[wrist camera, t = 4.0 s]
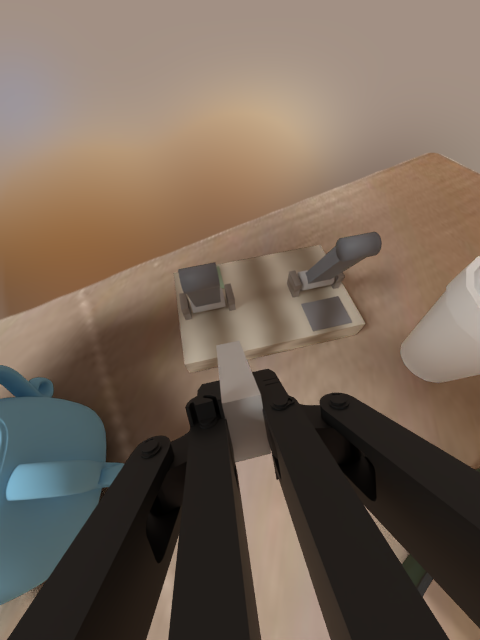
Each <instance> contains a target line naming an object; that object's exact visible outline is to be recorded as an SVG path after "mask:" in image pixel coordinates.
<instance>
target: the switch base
mask: <svg viewBox="0 0 480 640" xmlns="http://www.w3.org/2000/svg"><path fill="white" fill-rule="evenodd" d="M325 255H326V254H325V252H324V250H323V249H322V247H321V245H316V246H311V247H305V248H300V249H295V250H290V251H285V252H279V253H274V254H269V255H264V256H259V257H254V258H248V259H243V260H238V261H233V262H228V263H223V264H217V265H216V267H217V272H218V277H219V282H220V288H222V291H223V295H224V300H225V305H226V307H222V308H217V309H212V310H207V311H203V312H198V313H193V311H192V307H191V303H190V298H189V297H188V296H187V294H186V293H185V294H184V292H183V290H182V286H181V283H180V278H179V272H176V273H174V281H175V289H176V297H177V306H178V314H179V323H180V331H181V339H182V348H183V356H184V364H185V366H186V368H187V369H188V371H189V372H190V373H193V372H197V371H201V370H206V369H210V368H214V367H218V359H217V349H216V345H221V344H225V343H230V342H235V341H240V344H241V346H242V349H243V351H244V354H245V356H246V359H247V360H249V359H253V358H258V357H262V356H266V355H271V354H275V353H279V352H284V351H288V350H292V349H297V348H301V347H305V346H310V345H314V344H318V343H323V342H327V341H331V340H336V339H340V338H344V337H349V336H353V335H356V334H357V333H358V332H359V331H360V329H361V328H362V327H363V326H364V325H365V322H364V320H363V318H362V317H361V315H360V313H359V311H358V310H357V308H356V306H355V304H354V303H353V301H352V299H351V297H350V296H349V294H348V292H347V290H346V289H345V287H344V285H343V283H342V281H343V279H344V277H345V275H344V274H343V272H342V273H340V274H338V275H337V276H335V278H334V283H333V284H332V285H327V286H322V287H317V288H312V289H308V290H303V291H301V290H300V289H301V286H302V284H301V282H300V280H299V277H298V275H297V273H298V272H302V271H306V270H309V269H310V268H312V267H313V266H314V265H315V264H316V263H317V262H318V261H319V260H321V259H322V258H323V257H324V256H325Z"/></svg>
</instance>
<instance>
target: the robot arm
mask: <svg viewBox="0 0 480 640" xmlns="http://www.w3.org/2000/svg"><path fill="white" fill-rule="evenodd" d="M216 349H217V359H218V369H219V381H215V382H211V383H206V384H202V385H201V387H200V388H199V389H198V394H197V396H196V397H195V398H193V399H191V400H190V401H189V402H188V403H187V405H186V407H185V408H186V412H187V416H188V419H189V423H190V431H189V432H188V433H187V434H185V435H184V436H182V437H180V438H178V439H176V440H174V441H172V442H170V440H169V438H167V437H166V436H155V437H151V438H149V439H147V440H145V441H144V442H142V443H141V444H139V445H138V446H137V447H136V449H135V450H134V451H133V452H132V454H131V455H130V457H129V458H128V460H127V461H126V463H125V464H124V466H123V467H122V469H121V470H120V472H119V473H118V475H117V476H116V478H115V479H114V481H113V482H112V484H111V485H110V487H109V488H108V490H107V491H106V493H105V494H104V496H103V497H102V499H101V500H100V502H99V503H98V505H97V506H96V508H95V509H94V511H93V512H92V514H91V515H90V517H89V518H88V520H87V521H86V522H85V524H84V525H83V527H82V528H81V530H80V531H79V533H78V534H77V536H76V537H75V539H74V540H73V542H72V543H71V545H70V546H69V548H68V549H67V551H66V552H65V554H64V555H63V557H62V558H61V560H60V561H59V563H58V564H57V566H56V567H55V569H54V570H53V572H52V573H51V575H50V576H49V578H48V579H47V581H46V582H45V584H44V585H43V587H42V588H41V590H40V591H39V593H38V594H37V596H36V597H35V599H34V600H33V602H32V603H31V605H30V606H29V608H28V609H27V611H26V612H25V614H24V615H23V617H22V618H21V620H20V621H19V623H18V624H17V626H16V627H15V629H14V630H13V632H12V633H11V635H10V636H9V638H8V639H7V640H146V638H147V635H148V632H149V629H150V626H151V622H152V619H153V616H154V613H155V610H156V606H157V603H158V600H159V597H160V593H161V590H162V587H163V584H164V581H165V577H166V574H167V571H168V568H169V565H170V561H171V558H172V555H173V552H174V548H175V545H176V542H177V539H178V536H179V542H178V551H177V561H176V571H175V580H174V590H173V600H172V609H171V619H170V629H169V638H168V640H261V635H260V628H259V621H258V614H257V607H256V600H255V593H254V586H253V579H252V572H251V565H250V558H249V551H248V544H247V537H246V530H245V523H244V516H243V509H242V502H241V495H240V488H239V481H238V474H237V469H236V465H235V462H239V461H243V460H247V459H251V458H255V457H258V456H262V455H266V454H270V453H271V451H272V456H273V461H274V467H275V473H276V478H277V479H279V481H280V484H281V487H282V490H283V493H284V497H285V500H286V503H287V506H288V509H289V512H290V515H291V518H292V521H293V524H294V527H295V531H296V534H297V537H298V540H299V543H300V546H301V549H302V552H303V555H304V558H305V562H306V565H307V568H308V571H309V574H310V577H311V580H312V583H313V586H314V589H315V592H316V596H317V599H318V602H319V605H320V608H321V611H322V614H323V617H324V620H325V623H326V627H327V630H328V633H329V636H330V639H331V640H449V638H448V637H447V635H446V633H445V632H444V630H443V629H442V627H441V626H440V624H439V622H438V621H437V619H436V618H435V616H434V615H433V613H432V611H431V610H430V608H429V607H428V605H427V604H426V602H425V601H424V599H423V597H422V596H421V594H420V593H419V591H418V590H417V588H416V586H415V585H414V583H413V582H412V580H411V579H410V577H409V575H408V574H407V572H406V571H405V569H404V568H403V566H402V564H401V563H400V561H399V560H398V558H397V557H396V555H395V553H394V552H393V550H392V549H391V547H390V546H389V544H388V542H387V541H386V539H385V538H384V536H383V535H382V533H381V531H380V530H379V528H378V527H377V525H376V524H375V522H374V521H373V519H372V517H371V516H370V514H369V513H368V511H367V510H366V508H367V509H368V510H369V511H370V512H371V513H372V514H373V515H374V516H375V517H376V518H377V519H378V521H379V522H380V523H381V524H382V525H383V526H384V527H385V528H386V529H387V530H388V531H389V532H390V533H391V534H392V535H393V537H394V538H395V539H396V540H397V541H398V542H399V543H400V544H401V545H402V546H403V547H404V548H405V549H406V550H407V551H408V553H409V554H410V555H411V556H412V557H413V558H414V559H415V560H416V561H417V562H418V563H419V564H420V565H421V566H422V567H423V568H424V570H425V571H426V572H427V573H428V574H429V575H430V576H431V577H432V578H433V579H434V580H435V581H436V582H437V583H438V584H439V586H440V587H441V588H442V589H443V590H444V591H445V592H446V593H447V594H448V595H449V596H450V597H451V598H452V599H453V600H454V602H455V603H456V604H457V605H458V606H459V607H460V608H461V609H462V610H463V611H464V612H465V613H466V614H467V615H468V616H469V618H470V619H471V620H472V621H473V622H474V623H475V624H476V625H477V626H478V627H479V628H480V472H478V471H476V470H475V469H473V468H471V467H470V466H468V465H466V464H464V463H463V462H461V461H459V460H458V459H456V458H454V457H453V456H451V455H449V454H448V453H446V452H444V451H443V450H441V449H439V448H438V447H436V446H434V445H433V444H431V443H429V442H428V441H426V440H424V439H423V438H421V437H419V436H418V435H416V434H414V433H413V432H411V431H409V430H408V429H406V428H404V427H403V426H401V425H399V424H398V423H396V422H394V421H393V420H391V419H389V418H388V417H386V416H384V415H382V414H381V413H379V412H377V411H376V410H374V409H372V408H371V407H369V406H367V405H366V404H364V403H362V402H361V401H359V400H357V399H356V398H354V397H352V396H350V395H348V394H344V393H330V394H326V395H325V396H323V397H322V398H321V400H320V405H301V404H299V403H298V401H297V400H296V399H295V398H294V397H291V396H289V395H288V394H287V392H286V391H285V389H284V387H283V386H282V384H281V382H280V381H279V379H278V378H277V376H276V374H275V372H273V371H271V370H269V369H265V370H260V371H256V372H252V371H251V369H250V366H249V364H248V361H247V359H246V356H245V354H244V351H243V349H242V346H241V344H240V341H235V342H230V343H225V344H221V345H216ZM270 448H271V450H270ZM365 507H366V508H365Z"/></svg>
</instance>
